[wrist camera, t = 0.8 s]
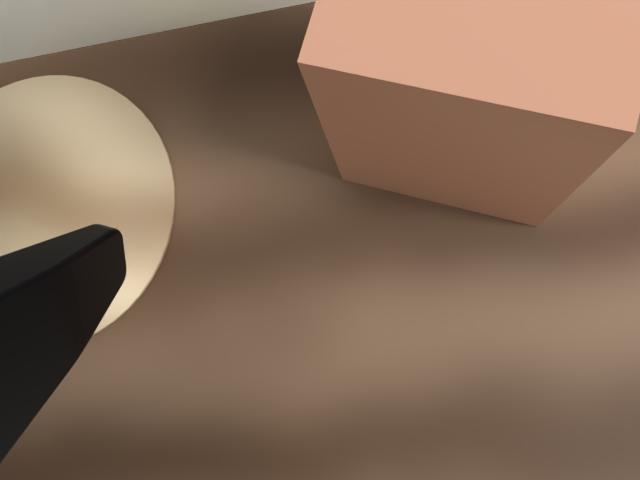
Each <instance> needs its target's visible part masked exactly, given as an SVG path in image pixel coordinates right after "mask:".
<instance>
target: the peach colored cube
mask: <svg viewBox="0 0 640 480" xmlns="http://www.w3.org/2000/svg"><path fill="white" fill-rule="evenodd" d="M297 63H298V66H299V68H300V71H301V74H302V76H303V79H304V81H305V84H306V87H307V89H308V92H309V94H310V97H311V99H312V102H313V105H314V107H315V110H316V112H317V115H318V118H319V120H320V123H321V125H322V128H323V130H324V133H325V136H326V138H327V141H328V143H329V146H330V148H331V151H332V154H333V156H334V159H335V161H336V164H337V167H338V169H339V172H340V174H341V177H342V179H343V180H346V181H350V182H354V183H358V184H362V185H367V186H371V187H375V188H379V189H383V190H387V191H391V192H395V193H399V194H404V195H408V196H412V197H416V198H420V199H424V200H428V201H432V202H436V203H441V204H445V205H449V206H453V207H457V208H461V209H465V210H469V211H473V212H478V213H482V214H486V215H490V216H494V217H498V218H502V219H506V220H510V221H515V222H519V223H523V224H527V225H531V226H535V227H538V226H539V225H540V224H541V223H542V222H543V221H544V220H545V219H546V218H547V217H548V216H549V215H550V214H551V213H552V212H553V211H554V210H555V209H556V208H557V207H558V206H559V205H560V204H561V203H563V202H564V201H565V200H566V199H567V198H568V197H569V196H570V195H571V194H572V193H573V192H574V191H575V190H576V189H577V188H578V187H579V186H580V185H581V184H582V183H583V182H584V181H585V180H586V179H588V178H589V177H590V176H591V175H592V174H593V173H594V172H595V171H596V170H597V169H598V168H599V167H600V166H601V165H602V164H603V163H604V162H605V161H606V160H607V159H608V158H609V157H610V156H611V155H613V154H614V153H615V152H616V151H617V150H618V149H619V148H620V147H621V146H622V145H623V144H624V143H625V142H626V141H627V140H628V139H629V138H630V137H631V136H632V135H633V134H634V133H635V131H636V127H637V122H638V118H639V114H640V0H316V2H315V5H314V9H313V12H312V15H311V18H310V22H309V25H308V28H307V31H306V35H305V38H304V41H303V44H302V48H301V51H300V54H299V57H298V60H297Z"/></svg>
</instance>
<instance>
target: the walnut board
mask: <svg viewBox="0 0 640 480" xmlns="http://www.w3.org/2000/svg"><path fill="white" fill-rule="evenodd" d="M314 5H315V2H311V3H306V4H301V5H295V6H290V7H285V8H280V9H275V10H270V11H265V12H260V13H255V14H250V15H245V16H240V17H235V18H229V19H224V20H219V21H214V22H209V23H204V24H199V25H194V26H189V27H184V28H179V29H174V30H168V31H163V32H158V33H153V34H148V35H143V36H138V37H133V38H128V39H123V40H118V41H113V42H108V43H102V44H97V45H92V46H87V47H82V48H77V49H72V50H67V51H62V52H57V53H52V54H47V55H42V56H36V57H31V58H26V59H21V60H16V61H11V62H6V63H1V64H0V256H2V255H5V254H8V253H11V252H14V251H17V250H20V249H23V248H25V247H28V246H31V245H34V244H37V243H40V242H43V241H46V240H49V239H52V238H54V237H57V236H60V235H63V234H66V233H69V232H72V231H75V230H78V229H80V228H83V227H86V226H89V225H92V224H102V225H105V226H109V227H112V228H116V229H118V230H119V231H120V232H121V234H122V236H123V242H124V251H125V259H126V267H127V271H126V277H125V280H124V282H123V284H122V286H121V288H120V290H119V291H118V293H117V295H116V296H115V298H114V300H113V301H112V303H111V305H110V307H109V308H108V310H107V312H106V313H105V315H104V317H103V318H102V320H101V322H100V324H99V325H98V327H97V329H96V330H95V332H94V334H93V335H92V337H91V339H90V341H89V342H88V344H87V346H86V347H85V349H84V350H83V352H82V354H81V355H80V357H79V358H78V360H77V361H76V362H75V364H74V365H73V367H72V368H71V369H70V371H69V372H68V374H67V375H66V376H65V378H64V379H63V380H62V382H61V383H60V384H59V386H58V387H57V388H56V390H55V391H54V392H53V394H52V395H51V396H50V398H49V399H48V400H47V402H46V403H45V404H44V406H43V407H42V408H41V410H40V411H39V412H38V414H37V415H36V416H35V418H34V419H33V420H32V422H31V423H30V425H29V426H28V427H27V429H26V430H25V431H24V433H23V434H22V435H21V437H20V438H19V439H18V441H17V442H16V443H15V445H14V446H13V447H12V449H11V450H10V451H9V453H8V454H7V455H6V457H5V458H4V459H3V461H2V462H1V463H0V480H640V114H639V118H638V122H637V127H636V131H635V133H634V134H633V135H632V136H631V137H630V138H629V139H628V140H627V141H626V142H625V143H624V144H623V145H622V146H621V147H620V148H619V149H618V150H617V151H616V152H615V153H614V154H613V155H611V156H610V157H609V158H608V159H607V160H606V161H605V162H604V163H603V164H602V165H601V166H600V167H599V168H598V169H597V170H596V171H595V172H594V173H593V174H592V175H591V176H590V177H589V178H588V179H586V180H585V181H584V182H583V183H582V184H581V185H580V186H579V187H578V188H577V189H576V190H575V191H574V192H573V193H572V194H571V195H570V196H569V197H568V198H567V199H566V200H565V201H564V202H563V203H561V204H560V205H559V206H558V207H557V208H556V209H555V210H554V211H553V212H552V213H551V214H550V215H549V216H548V217H547V218H546V219H545V220H544V221H543V222H542V223H541V224H540V225H539V226H538V227H535V226H531V225H527V224H523V223H519V222H515V221H510V220H506V219H502V218H498V217H494V216H490V215H486V214H482V213H478V212H473V211H469V210H465V209H461V208H457V207H453V206H449V205H445V204H441V203H436V202H432V201H428V200H424V199H420V198H416V197H412V196H408V195H404V194H399V193H395V192H391V191H387V190H383V189H379V188H375V187H371V186H367V185H362V184H358V183H354V182H350V181H346V180H343V179H342V177H341V174H340V172H339V169H338V167H337V164H336V161H335V159H334V156H333V154H332V151H331V148H330V146H329V143H328V141H327V138H326V136H325V133H324V130H323V128H322V125H321V123H320V120H319V118H318V115H317V112H316V110H315V107H314V105H313V102H312V99H311V97H310V94H309V92H308V89H307V87H306V84H305V81H304V79H303V76H302V74H301V71H300V68H299V66H298V63H297V60H298V57H299V54H300V51H301V48H302V44H303V41H304V38H305V35H306V31H307V28H308V25H309V22H310V18H311V15H312V12H313V9H314Z"/></svg>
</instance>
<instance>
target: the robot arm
mask: <svg viewBox="0 0 640 480" xmlns="http://www.w3.org/2000/svg"><path fill="white" fill-rule="evenodd" d="M126 271H127V267H126V259H125V251H124V242H123V236H122V234H121V232H120V231H119V230H118V229H116V228H112V227H109V226H105V225H102V224H92V225H89V226H86V227H83V228H80V229H78V230H75V231H72V232H69V233H66V234H63V235H60V236H57V237H54V238H52V239H49V240H46V241H43V242H40V243H37V244H34V245H31V246H28V247H25V248H23V249H20V250H17V251H14V252H11V253H8V254H5V255H2V256H0V463H1V462H2V461H3V459H4V458H5V457H6V455H7V454H8V453H9V451H10V450H11V449H12V447H13V446H14V445H15V443H16V442H17V441H18V439H19V438H20V437H21V435H22V434H23V433H24V431H25V430H26V429H27V427H28V426H29V425H30V423H31V422H32V420H33V419H34V418H35V416H36V415H37V414H38V412H39V411H40V410H41V408H42V407H43V406H44V404H45V403H46V402H47V400H48V399H49V398H50V396H51V395H52V394H53V392H54V391H55V390H56V388H57V387H58V386H59V384H60V383H61V382H62V380H63V379H64V378H65V376H66V375H67V374H68V372H69V371H70V369H71V368H72V367H73V365H74V364H75V362H76V361H77V360H78V358H79V357H80V355H81V354H82V352H83V350H84V349H85V347H86V346H87V344H88V342H89V341H90V339H91V337H92V335H93V334H94V332H95V330H96V329H97V327H98V325H99V324H100V322H101V320H102V318H103V317H104V315H105V313H106V312H107V310H108V308H109V307H110V305H111V303H112V301H113V300H114V298H115V296H116V295H117V293H118V291H119V290H120V288H121V286H122V284H123V282H124V280H125V277H126Z"/></svg>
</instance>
